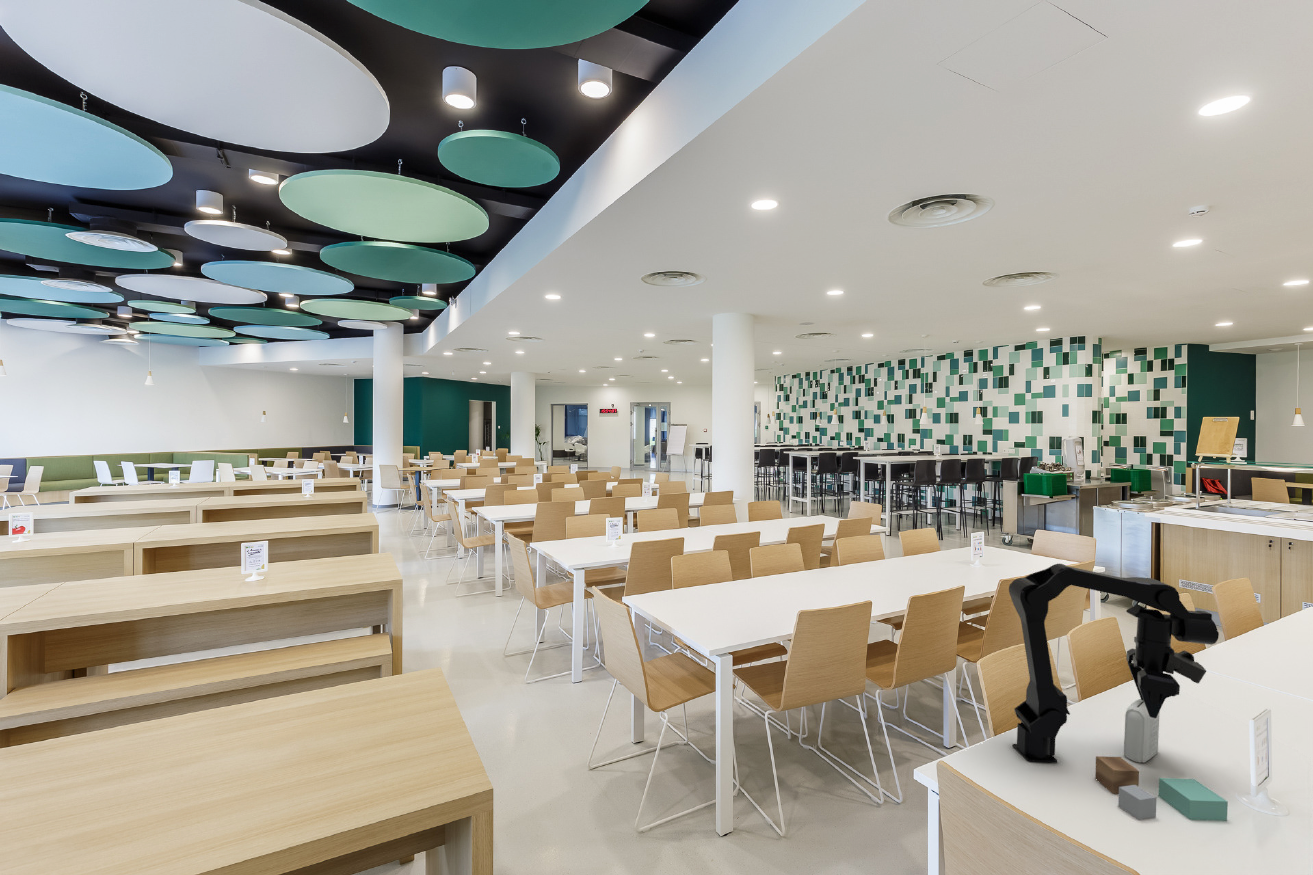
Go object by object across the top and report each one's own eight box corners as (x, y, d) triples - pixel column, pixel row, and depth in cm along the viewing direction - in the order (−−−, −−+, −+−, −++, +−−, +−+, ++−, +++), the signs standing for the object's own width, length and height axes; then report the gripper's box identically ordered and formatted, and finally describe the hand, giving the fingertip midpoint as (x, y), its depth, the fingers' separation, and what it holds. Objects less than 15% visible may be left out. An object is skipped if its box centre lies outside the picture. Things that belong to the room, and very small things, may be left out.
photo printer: (1137, 743, 138) (1139, 691, 137) (1160, 752, 134) (1162, 699, 134) (1120, 756, 132) (1122, 702, 132) (1144, 766, 128) (1146, 710, 128)
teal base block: (1189, 820, 111) (1190, 800, 111) (1158, 797, 118) (1159, 777, 118) (1226, 822, 111) (1227, 801, 111) (1193, 798, 118) (1194, 778, 118)
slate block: (1139, 820, 110) (1140, 799, 110) (1118, 807, 114) (1118, 786, 114) (1155, 817, 111) (1156, 797, 111) (1134, 804, 115) (1135, 784, 115)
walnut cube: (1112, 794, 118) (1113, 769, 118) (1095, 779, 123) (1096, 756, 123) (1138, 795, 118) (1139, 771, 118) (1119, 780, 123) (1120, 756, 123)
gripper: (1216, 661, 115) (1210, 739, 115) (1191, 634, 130) (1186, 702, 131) (1143, 647, 120) (1138, 722, 121) (1128, 623, 136) (1123, 689, 137)
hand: (1148, 708), depth 127 cm, fingers open, 9 cm apart
